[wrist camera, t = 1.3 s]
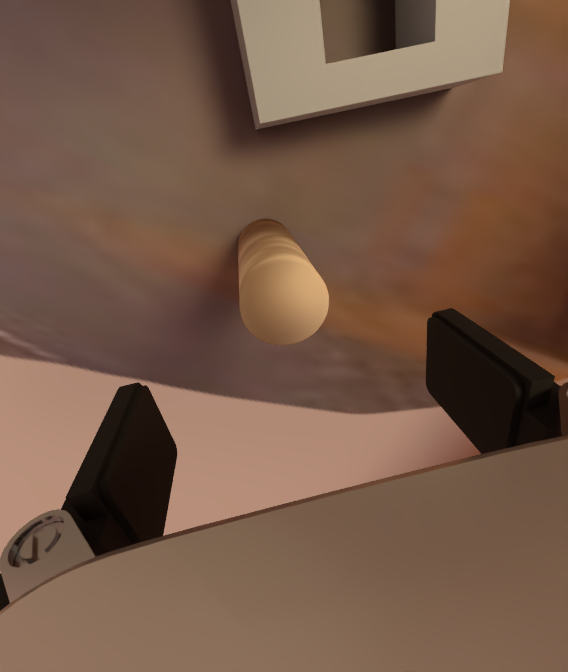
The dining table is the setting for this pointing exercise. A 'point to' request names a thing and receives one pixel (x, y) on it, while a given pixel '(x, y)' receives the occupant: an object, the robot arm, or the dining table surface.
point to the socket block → (367, 71)
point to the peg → (278, 285)
